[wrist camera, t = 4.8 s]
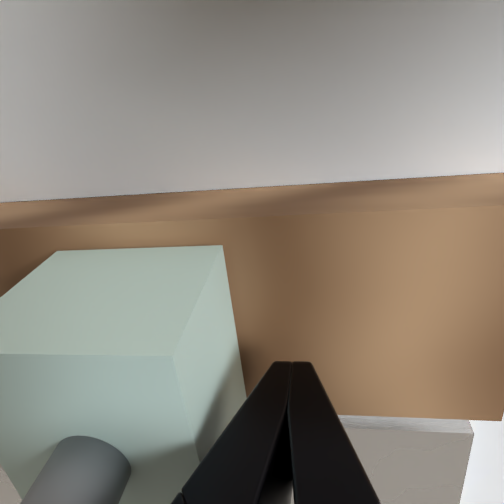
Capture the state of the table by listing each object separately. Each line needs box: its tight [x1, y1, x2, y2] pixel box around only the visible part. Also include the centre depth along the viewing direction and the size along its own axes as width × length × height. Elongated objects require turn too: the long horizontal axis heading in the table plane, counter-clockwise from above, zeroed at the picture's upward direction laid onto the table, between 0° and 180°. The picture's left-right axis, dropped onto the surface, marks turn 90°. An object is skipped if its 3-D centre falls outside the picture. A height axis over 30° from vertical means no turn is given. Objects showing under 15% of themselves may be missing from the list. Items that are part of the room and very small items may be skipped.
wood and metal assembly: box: [0, 173, 504, 421], centre depth 12 cm, size 23×14×6 cm, turn 96°
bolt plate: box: [0, 415, 474, 504], centre depth 16 cm, size 23×7×1 cm, turn 96°
